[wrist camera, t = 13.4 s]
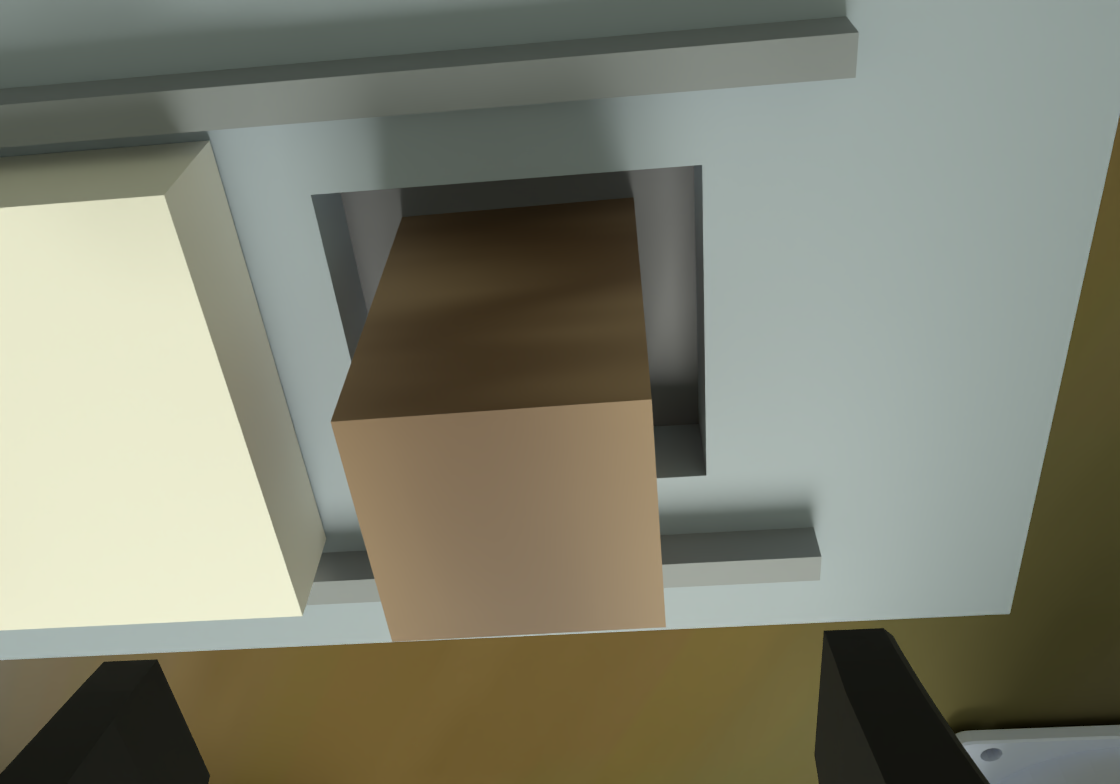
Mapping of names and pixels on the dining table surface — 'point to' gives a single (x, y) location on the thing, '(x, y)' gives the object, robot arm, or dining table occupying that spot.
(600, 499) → the brown wooden block
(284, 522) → the cover
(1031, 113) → the puzzle board
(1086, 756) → the robot arm
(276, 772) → the dining table surface
